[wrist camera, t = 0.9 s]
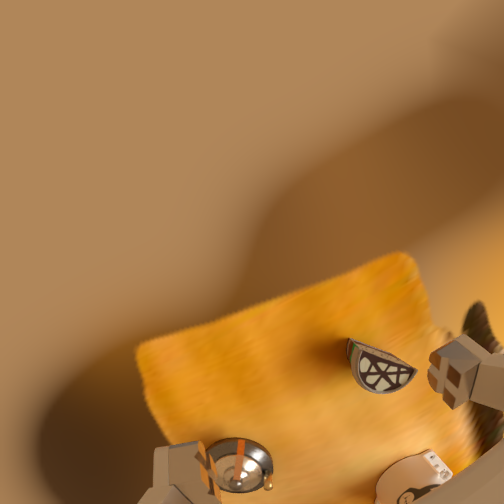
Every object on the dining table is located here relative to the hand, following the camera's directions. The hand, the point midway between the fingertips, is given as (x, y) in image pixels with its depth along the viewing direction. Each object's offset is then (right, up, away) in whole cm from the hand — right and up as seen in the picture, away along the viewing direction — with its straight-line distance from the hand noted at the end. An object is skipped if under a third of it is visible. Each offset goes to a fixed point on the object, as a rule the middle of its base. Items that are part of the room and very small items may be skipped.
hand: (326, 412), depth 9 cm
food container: (+18, -15, +45) cm, 51 cm away
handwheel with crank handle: (-5, -37, +44) cm, 58 cm away
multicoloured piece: (-5, -35, +42) cm, 55 cm away
